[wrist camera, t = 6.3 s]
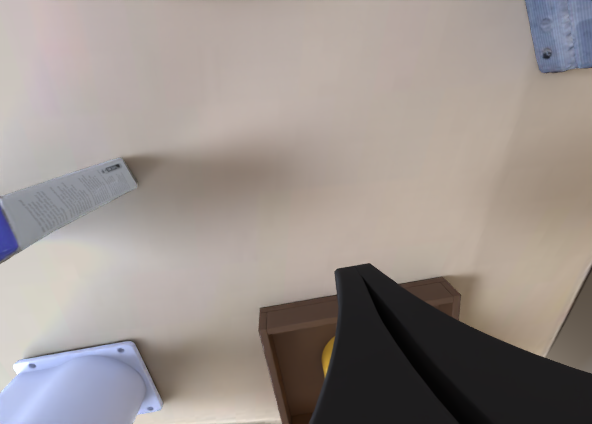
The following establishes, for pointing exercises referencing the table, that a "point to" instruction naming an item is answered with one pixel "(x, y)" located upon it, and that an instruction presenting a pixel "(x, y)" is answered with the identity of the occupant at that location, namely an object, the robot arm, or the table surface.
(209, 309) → the table surface
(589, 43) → the vhs cassette tape
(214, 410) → the table surface
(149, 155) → the table surface
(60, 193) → the ink box
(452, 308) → the tray
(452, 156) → the table surface
